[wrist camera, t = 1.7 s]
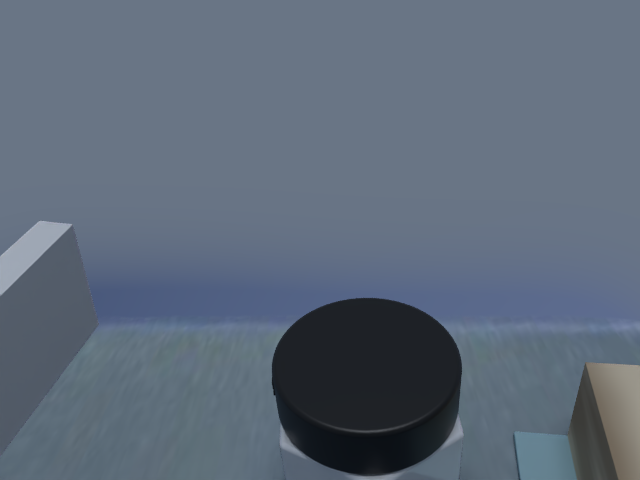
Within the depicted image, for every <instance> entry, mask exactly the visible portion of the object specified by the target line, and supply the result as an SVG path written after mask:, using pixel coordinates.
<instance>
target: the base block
mask: <svg viewBox="0 0 640 480" xmlns="http://www.w3.org/2000/svg"><path fill="white" fill-rule="evenodd" d="M567 436H568V441H569V445H570V450H571V454H572V459H573V463H574V468H575V472H576V477H577V480H640V365H622V364H604V363H587V362H585V366H584V370H583V374H582V378H581V382H580V386H579V390H578V394H577V398H576V402H575V406H574V411H573V415H572V419H571V423H570V427H569V431H568V435H567Z"/></svg>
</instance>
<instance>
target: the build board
mask: <svg viewBox="0 0 640 480" xmlns="http://www.w3.org/2000/svg"><path fill="white" fill-rule="evenodd" d="M513 436H514V444H515V451H516V459H517V466H518V474H519V480H577V477H576V472H575V468H574V463H573V459H572V454H571V450H570V445H569V441H568V436H567V435H556V434H542V433H529V432H516V431H514V435H513Z"/></svg>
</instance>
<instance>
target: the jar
mask: <svg viewBox="0 0 640 480" xmlns="http://www.w3.org/2000/svg"><path fill="white" fill-rule="evenodd" d="M461 375H462V363H461V357H460V353H459V350H458V348H457V345H456V343H455V341H454V340H453V338H452V337H451V335H450V334H449V332H448V331H447V330H446V329H445V328H444V327H443V326H442V325H441V324H440V323H439V322H438V321H437V320H435V319H434V318H433V317H431V316H430V315H428V314H426V313H425V312H423V311H421V310H419V309H417V308H415V307H412V306H410V305H407V304H404V303H400V302H397V301H392V300H386V299H378V298H356V299H348V300H342V301H338V302H334V303H330V304H327V305H324V306H322V307H320V308H317V309H315V310H313V311H311V312H309V313H308V314H306V315H304V316H303V317H302V318H300V319H299V320H298V321H296V322H295V323H294V324H293V325H292V326H291V327H290V328H289V329H288V330H287V331H286V333H285V334H284V335H283V337H282V338H281V340H280V341H279V343H278V345H277V347H276V350H275V353H274V357H273V362H272V386H273V389H274V395H276V402H277V408H278V414H279V418H280V443H279V446H280V452H281V458H282V464H283V470H284V476H285V480H459V479H460V469H461V459H462V448H463V438H464V432H463V429H462V425H461V421H460V417H459V414H458V409H459V397H460V386H461Z"/></svg>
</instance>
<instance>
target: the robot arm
mask: <svg viewBox="0 0 640 480" xmlns="http://www.w3.org/2000/svg"><path fill="white" fill-rule="evenodd" d="M98 325H99V323H98V319H97V316H96V312H95V308H94V304H93V300H92V296H91V293H90V289H89V285H88V281H87V277H86V274H85V270H84V266H83V262H82V258H81V254H80V250H79V247H78V243H77V239H76V235H75V231H74V227H73V225H72V224H64V223H55V222H45V221H39V222H38V223H37V224H35V225H34V226H33V227H32V228H31V229H30V230H29V231H28V232H27V233H25V235H23V236H22V237H21V238H20V239H19V240H18V241H17V242H16V243H15V244H13V245H12V246H11V247H10V248H9V249H8V250H7V251H6V252H4V253H3V254H2V255H1V256H0V456H1V455H2V453H3V452H4V451H5V449H6V448H7V447H8V445H9V444H10V443H11V441H12V440H13V439H14V437H15V436H16V435H17V433H18V432H19V431H20V429H21V428H22V427H23V425H24V424H25V423H26V421H27V420H28V419H29V417H30V416H31V415H32V413H33V412H34V411H35V409H36V408H37V407H38V405H39V404H40V403H41V401H42V400H43V399H44V397H45V396H46V395H47V393H48V392H49V391H50V389H51V388H52V387H53V385H54V384H55V383H56V381H57V380H58V379H59V377H60V376H61V374H62V373H63V372H64V370H65V369H66V368H67V366H68V365H69V364H70V362H71V361H72V360H73V358H74V357H75V356H76V354H77V353H78V352H79V350H80V349H81V348H82V346H83V345H84V344H85V342H86V341H87V340H88V338H89V337H90V336H91V334H92V333H93V332H94V330H95V329H96V328H97V326H98Z"/></svg>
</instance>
